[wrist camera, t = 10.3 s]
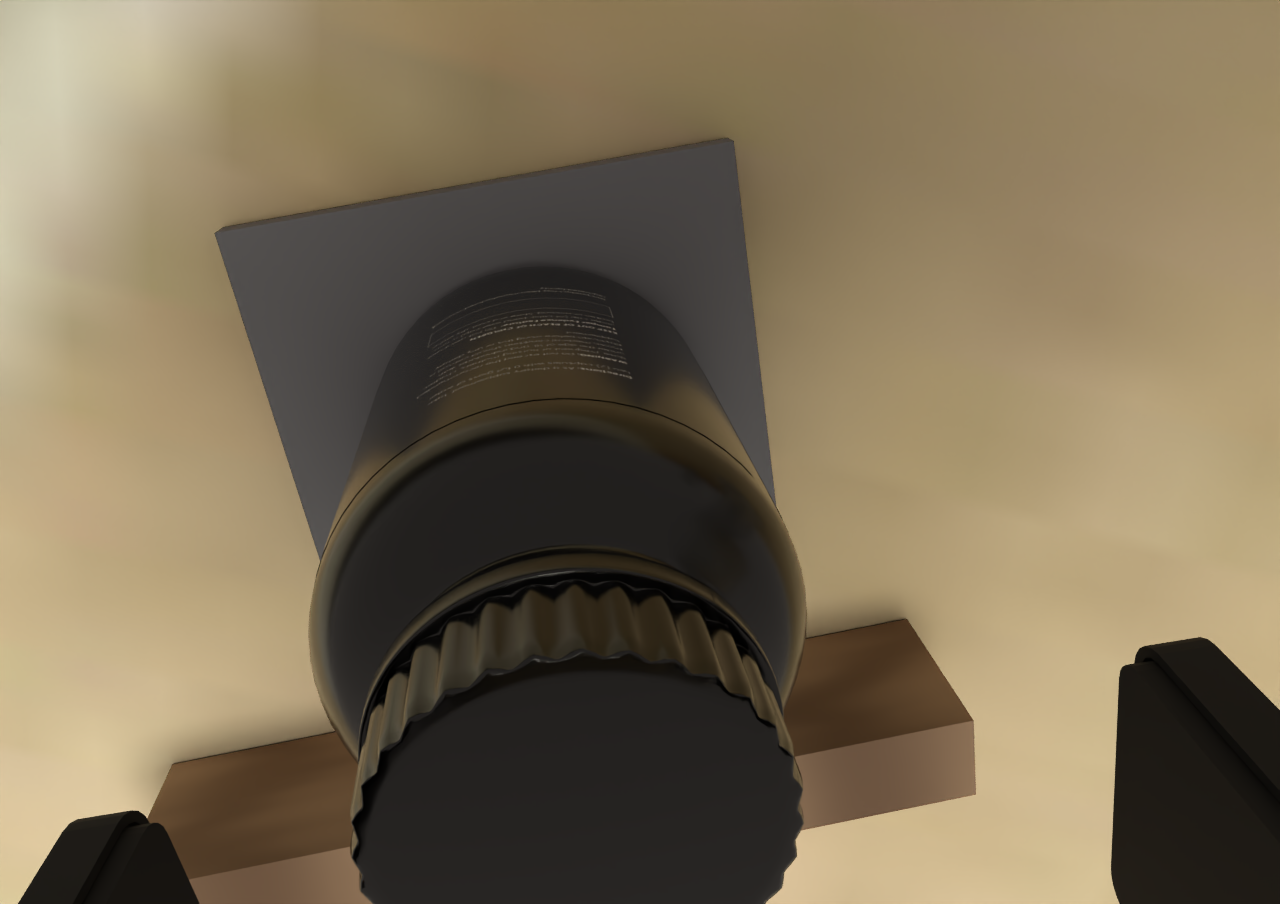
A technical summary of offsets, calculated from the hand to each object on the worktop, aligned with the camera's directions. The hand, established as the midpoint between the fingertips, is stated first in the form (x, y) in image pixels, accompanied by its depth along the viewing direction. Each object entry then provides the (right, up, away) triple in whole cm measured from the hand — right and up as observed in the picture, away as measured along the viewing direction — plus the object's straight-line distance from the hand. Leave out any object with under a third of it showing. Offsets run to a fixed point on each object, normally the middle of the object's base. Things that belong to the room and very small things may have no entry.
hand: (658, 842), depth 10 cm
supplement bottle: (-2, +5, +12) cm, 13 cm away
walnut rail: (-2, -3, +15) cm, 16 cm away
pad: (-3, +5, +12) cm, 13 cm away
